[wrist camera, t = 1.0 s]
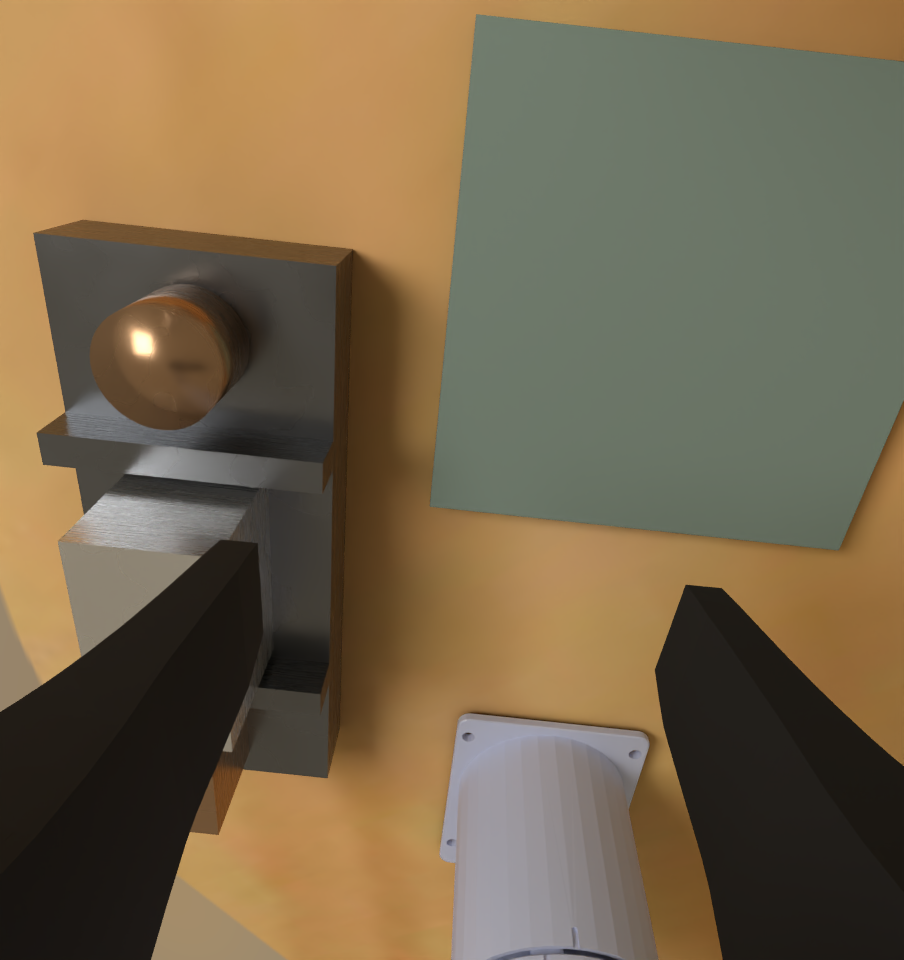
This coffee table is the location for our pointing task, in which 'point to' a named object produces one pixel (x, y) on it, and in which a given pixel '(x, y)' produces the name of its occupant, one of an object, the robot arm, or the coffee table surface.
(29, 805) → the robot arm
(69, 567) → the rectangular metal block
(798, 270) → the rubber mat
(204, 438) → the hand plane
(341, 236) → the coffee table surface
